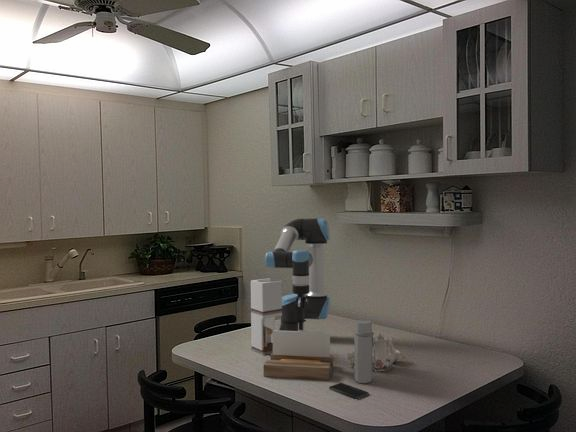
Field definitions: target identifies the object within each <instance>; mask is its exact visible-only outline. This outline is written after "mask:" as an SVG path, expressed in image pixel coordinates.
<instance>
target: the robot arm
mask: <svg viewBox="0 0 576 432" xmlns="http://www.w3.org/2000/svg"><path fill="white" fill-rule="evenodd" d="M330 240H331V234H330V226H329V221H328V220H327V219H326V218H296V219H293V220H291V221H289V222H287V223H286V224H285V225H284V226H283V228H282V229H281V230H280V237H279V240H278V242H276V245H275V248H274V249H273V251H267V252H266V253H265V256H264V257H265V258H264V263H265V266H266V267H267V268H270V269H292V276H291V280H292V293H291V294H287V295H282V315H281V316H280V325H279V328H278V330H279V331H303V332H306V331H305V322H307V320H317V321H319V320H326V319H327V318H328V316H329V313H330V305H331V298H330V297H328V293H327V292H326V291H325V247H326V246H327V244H328V241H330ZM297 241H305V242H304V243H305V245H306V246H307V247H308V248H307V249H295V250H293V251H291V249H292V248H293V246H294V244H295V242H297Z"/></svg>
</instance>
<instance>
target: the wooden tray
mask: <svg viewBox="0 0 576 432" xmlns="http://www.w3.org/2000/svg"><path fill="white" fill-rule="evenodd" d="M281 359H297V360H317V361H321V362H304V361H284V360H281ZM333 368H334V355H333V354H330V357H310V356H289V355H273V352H272V353H270V359H266V360H265V362H264V363H263V377H268V378H269V377H270V378H273V377H274V378H287V379H289V378H290V379H304V380H322V381H330V378H331V374H332V373H333Z"/></svg>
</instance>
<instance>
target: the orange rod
mask: <svg viewBox="0 0 576 432" xmlns="http://www.w3.org/2000/svg"><path fill="white" fill-rule="evenodd" d="M281 360H284V361H304V362H321V361H317V360H297V359H281Z"/></svg>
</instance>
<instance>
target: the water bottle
mask: <svg viewBox="0 0 576 432" xmlns="http://www.w3.org/2000/svg"><path fill="white" fill-rule="evenodd" d="M353 332H354V335H353V336H354V338H353V339H354V342H353V343H354V352H355V367H354V380H355V382H357V383H359V384H369V383H371V382H372V381H373V370H372V368H373V367H372V353H373V349H374V341H373V338H374V335H375V334H374V332H373V326H372V321H371V320H370V319H356V320H355V322H354V331H353ZM374 359H375V350H374ZM375 366H376V359H375V365H374V368H375ZM374 368H373V369H374Z"/></svg>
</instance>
